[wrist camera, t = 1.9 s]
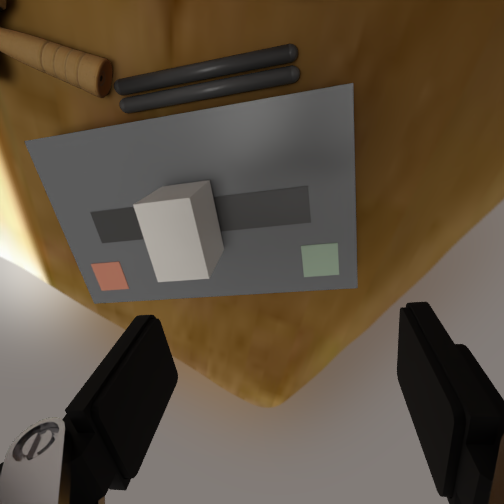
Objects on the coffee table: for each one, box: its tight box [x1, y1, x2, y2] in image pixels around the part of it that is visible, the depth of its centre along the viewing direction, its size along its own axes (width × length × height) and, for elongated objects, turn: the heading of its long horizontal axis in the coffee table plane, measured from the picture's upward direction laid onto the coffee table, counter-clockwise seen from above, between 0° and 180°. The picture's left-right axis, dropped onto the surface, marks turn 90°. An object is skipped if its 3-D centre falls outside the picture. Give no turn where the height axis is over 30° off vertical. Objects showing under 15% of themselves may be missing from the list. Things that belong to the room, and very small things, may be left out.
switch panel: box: [24, 44, 357, 303], centre depth 28 cm, size 26×19×4 cm
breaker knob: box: [133, 180, 224, 282], centre depth 24 cm, size 4×6×5 cm, turn 9°
